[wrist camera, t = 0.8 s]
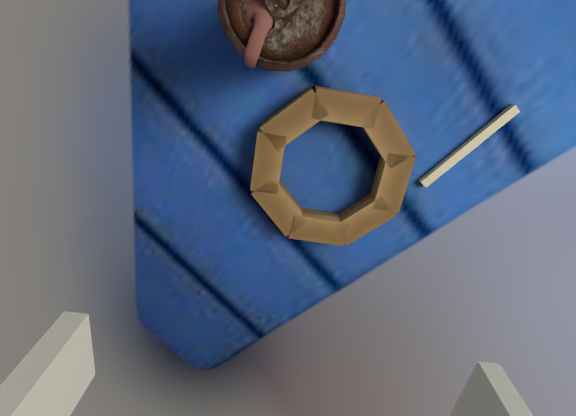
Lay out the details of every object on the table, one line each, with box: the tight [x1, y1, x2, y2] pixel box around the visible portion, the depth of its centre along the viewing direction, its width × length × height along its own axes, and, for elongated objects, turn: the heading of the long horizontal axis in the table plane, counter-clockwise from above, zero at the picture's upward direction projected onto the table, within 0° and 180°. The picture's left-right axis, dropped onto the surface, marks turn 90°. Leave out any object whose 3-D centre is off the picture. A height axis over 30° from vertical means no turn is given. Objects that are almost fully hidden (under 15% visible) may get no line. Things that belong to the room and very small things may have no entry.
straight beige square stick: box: [419, 104, 520, 187], centre depth 32 cm, size 10×1×1 cm, turn 135°
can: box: [218, 0, 346, 71], centre depth 22 cm, size 6×6×14 cm
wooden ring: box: [250, 86, 416, 246], centre depth 32 cm, size 14×14×2 cm
